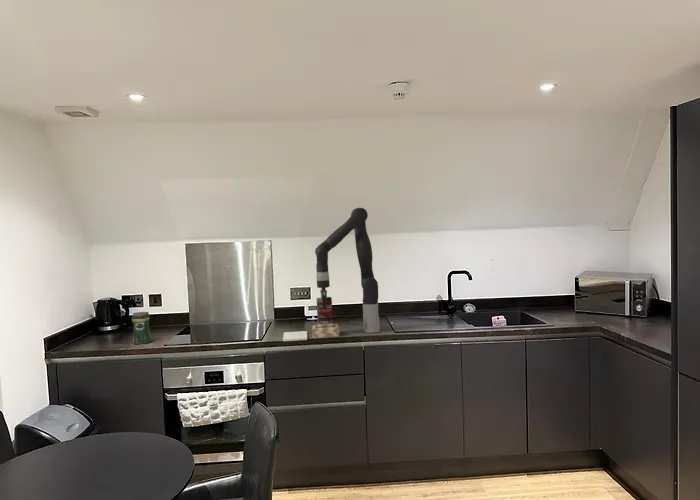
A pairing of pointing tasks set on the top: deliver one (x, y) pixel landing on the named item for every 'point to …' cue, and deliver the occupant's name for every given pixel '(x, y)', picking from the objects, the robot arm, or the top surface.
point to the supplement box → (324, 311)
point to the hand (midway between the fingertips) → (324, 307)
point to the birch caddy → (325, 330)
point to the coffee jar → (141, 327)
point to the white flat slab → (295, 336)
